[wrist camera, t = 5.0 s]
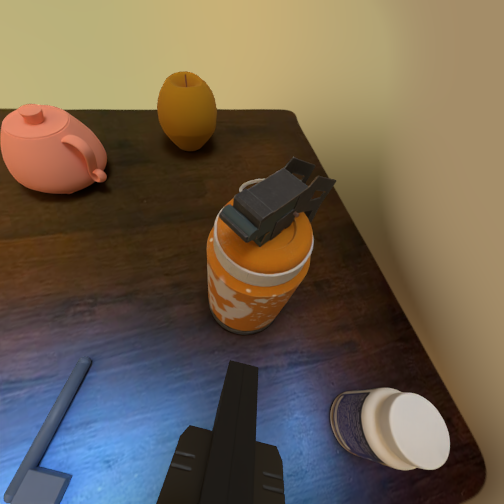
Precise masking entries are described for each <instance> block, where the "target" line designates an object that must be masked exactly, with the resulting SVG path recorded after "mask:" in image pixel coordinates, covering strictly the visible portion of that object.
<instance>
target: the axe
mask: <svg viewBox="0 0 504 504" xmlns="http://www.w3.org/2000/svg"><path fill="white" fill-rule="evenodd" d="M90 364H91V360H90V358H88V357H82V358H81V359H79V360H78V362H77V364H76V366H75V367H74V369H73V371H72V373H71V375H70V376H69V378H68V380H67V382H66V384H65V386H64V387H63V389H62V391H61V393H60V395H59V396H58V398H57V400H56V402H55V404H54V405H53V407H52V409H51V411H50V413H49V414H48V416H47V418H46V420H45V422H44V423H43V425H42V427H41V429H40V431H39V432H38V434H37V436H36V438H35V440H34V442H33V443H32V445H31V447H30V449H29V451H28V452H27V454H26V456H25V458H24V460H23V461H22V463H21V465H20V467H19V469H18V470H17V472H16V474H15V476H14V478H13V479H12V481H11V483H10V485H9V487H8V488H7V490H6V492H5V494H4V501H5V502H6V503H11V504H60V501H61V499H62V497H63V495H64V493H65V490H66V488H67V486H68V484H69V482H70V480H71V477H72V475H69V474H65V473H61V472H57V471H53V470H49V469H46V468H42V467H38V466H37V465H38V463H39V461H40V459H41V458H42V456H43V454H44V452H45V450H46V448H47V446H48V444H49V442H50V440H51V439H52V437H53V435H54V433H55V431H56V429H57V427H58V425H59V423H60V421H61V419H62V418H63V416H64V414H65V412H66V410H67V408H68V406H69V404H70V402H71V400H72V399H73V397H74V395H75V393H76V391H77V389H78V387H79V385H80V383H81V381H82V379H83V378H84V376H85V374H86V372H87V370H88V368H89V366H90Z"/></svg>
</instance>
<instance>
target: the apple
mask: <svg viewBox="0 0 504 504" xmlns="http://www.w3.org/2000/svg"><path fill="white" fill-rule="evenodd" d="M157 109H158V117H159V122H160V124H161V126H162V129H163V131H164V132H165V134H166V135H167V136H168V137H169V139H170V140H171V141H172V142H173V143H174V144H175V145H176V146H177V147H179V148H180V149H182V150H184V151H195V150H198V149H200V148H201V147H202V146H203V145H204V144H205V143H206V142H207V141H208V139H209V138H210V137H211V136H212V135H213V133H214V131H215V128H216V117H217V108H216V104H215V98H214V96H213V93H212V91H211V89H210V88H209V86H208V85H207V84H206V82H205V81H203V80H202V79H201V78H200V77H199V76H197V75H195V74H193V73H190V72H178V73H174V74H172V75H170V76H169V77H168V78H166V80H165V82H164V84H163V86H162V88H161V90H160V93H159V97H158V104H157Z"/></svg>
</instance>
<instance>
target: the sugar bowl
mask: <svg viewBox="0 0 504 504" xmlns="http://www.w3.org/2000/svg"><path fill="white" fill-rule="evenodd" d="M1 151H2V155H3V159H4V162H5V164H6V166H7V168H8V170H9V171H10V173H11V174H12V176H13V177H14V178H15V179H16V180H17V181H18V182H19V183H20V184H22V185H24V186H26V187H27V188H30V189H32V190H36V191H40V192H45V193H52V194H71V193H74V192H75V191H79V190H81V189H84V188H86V187H88V186H89V185H91V184H92V183H94V182H95V181H96V182H104V181H105V180H106V178H107V175H106V174H105V172H103V171H104V169H105V166H106V163H107V154H106V151H105V149H104V147H103V145H102V144H101V142H100V141H99V140H98V138H97V137H96V136H95V134H94V133H93V132H92V131H91V130H90V129H89V128H88V127H86V126H85V125H84V124H83V123H81V122H80V121H79V120H77V119H76V118H75V117H73V116H72V115H70V114H69V113H67V112H65V111H64V110H62V109H60V108H57V107H53V106H48V105H36V104H26V105H23V106H21V107H19V108H18V109H17V110H15V111H13V112H11V113H10V114H9V115H7V116H6V118H5V119H4V120H3V122H2V127H1Z"/></svg>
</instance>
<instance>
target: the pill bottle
mask: <svg viewBox="0 0 504 504" xmlns="http://www.w3.org/2000/svg"><path fill="white" fill-rule="evenodd" d="M330 419H331V426H332V429H333V432H334V434H335V437H336V438H337V440H338V441H339V443H340V444H341V445H342V446H343V447H344V448H345V449H346V450H347V451H349V452H350V453H352V454H354V455H356V456H359V457H362V458H365V459H368V460H371V461H374V462H377V463H380V464H383V465H386V466H389V467H392V468H395V469H399V470H411V469H415V468H422V469H426V470H433V469H437V468H439V467H440V466H442V465H443V464H444V463H445V461H446V460H447V458H448V455H449V450H450V439H449V433H448V430H447V427H446V424H445V422H444V420H443V418H442V416H441V415H440V413H439V412H438V410H437V409H436V408H435V407H434V406H433V405H432V404H431V403H430V402H429V401H428V400H427V399H425V398H424V397H422V396H420V395H418V394H414V393H402V392H400V391H398V390H396V389H392V388H374V389H364V390H353V391H347V392H344V393H342V394H340V395H339V396H338V397H337V398H336V399H335V401H334V402H333V405H332V408H331V414H330Z"/></svg>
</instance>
